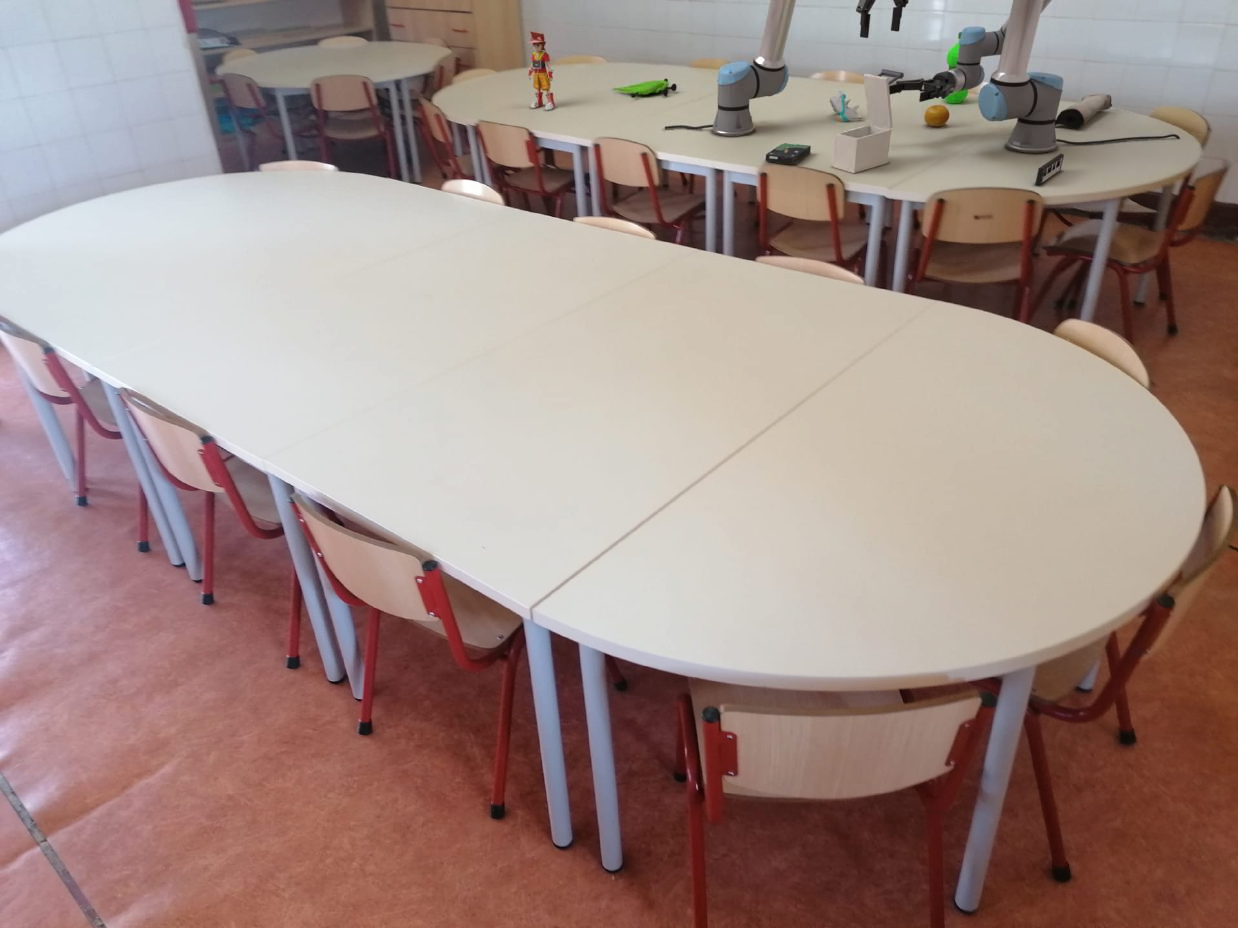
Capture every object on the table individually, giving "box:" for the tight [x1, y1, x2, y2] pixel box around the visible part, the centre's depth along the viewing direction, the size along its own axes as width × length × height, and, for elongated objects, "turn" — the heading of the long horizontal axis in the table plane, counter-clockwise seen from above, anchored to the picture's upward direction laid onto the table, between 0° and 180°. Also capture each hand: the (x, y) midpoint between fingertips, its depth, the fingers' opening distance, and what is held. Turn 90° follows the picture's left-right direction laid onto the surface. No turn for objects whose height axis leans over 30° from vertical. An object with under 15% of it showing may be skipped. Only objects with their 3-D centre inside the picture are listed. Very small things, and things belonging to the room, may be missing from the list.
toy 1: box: [527, 31, 556, 111], centre depth 374 cm, size 12×9×30 cm
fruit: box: [923, 104, 950, 127], centre depth 326 cm, size 8×8×8 cm
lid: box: [863, 68, 905, 130], centre depth 288 cm, size 16×9×9 cm
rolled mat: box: [1055, 93, 1113, 130], centre depth 324 cm, size 30×9×10 cm
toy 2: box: [612, 78, 677, 99], centre depth 396 cm, size 28×5×30 cm
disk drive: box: [765, 142, 812, 165], centre depth 304 cm, size 10×3×15 cm
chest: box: [832, 124, 892, 174], centre depth 292 cm, size 16×9×11 cm, turn 124°
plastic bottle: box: [944, 31, 969, 104], centre depth 348 cm, size 10×10×25 cm
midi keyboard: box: [1035, 153, 1065, 186], centre depth 273 cm, size 18×1×5 cm, turn 138°
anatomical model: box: [829, 90, 864, 122], centre depth 342 cm, size 15×10×10 cm
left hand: (879, 34), depth 274 cm, fingers open, 13 cm apart
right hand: (903, 94), depth 292 cm, fingers open, 13 cm apart
